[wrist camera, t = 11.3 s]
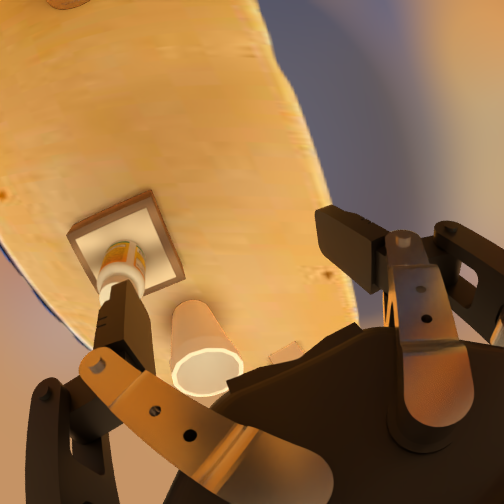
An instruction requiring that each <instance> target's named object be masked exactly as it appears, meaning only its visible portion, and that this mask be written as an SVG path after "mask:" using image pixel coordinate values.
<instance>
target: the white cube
mask: <svg viewBox="0 0 504 504" xmlns="http://www.w3.org/2000/svg"><path fill="white" fill-rule="evenodd" d="M303 355H304V354H303V352H302V351H301V349H300V348H299V346H298V345H297V343H296V342H295V341H294V342H293V343H291V344H289V345H287V346H286V347H284V348H282V349H281V350H279V351H277V352H275V353H273V354H272V355H270V356H269V357H270V359H271V361H272V363H273V364H278V363H282V362H287V361H291V360H295V359H298V358H300V357H301V356H303Z"/></svg>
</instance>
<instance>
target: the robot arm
mask: <svg viewBox="0 0 504 504" xmlns="http://www.w3.org/2000/svg"><path fill="white" fill-rule="evenodd" d="M46 1H47V2H48V3H49V4H50V5H51V6H52V7H54V8H56V9H70V8H74V7H77V6H80V5H82V4H84V3H86V2H88V1H89V0H46ZM315 221H316V229H317V236H318V244H319V247H320V250H321V252H322V253H323V255H324V256H325V257H326V258H328V259H329V260H330V261H331V262H332V263H334V264H335V265H336V266H337V267H338V268H340V269H341V270H342V271H343V272H344V273H346V274H347V275H348V276H349V277H350V278H352V279H353V280H354V281H355V282H356V283H357V284H359V285H360V286H361V287H362V288H363V289H364V290H366V291H367V292H368V293H369V294H373V293H375V292H377V291H379V290H380V289H382V290H383V314H384V315H383V316H384V327H373V328H368V329H363V330H362V329H361V328H360V327H359V326H358V325H357V324H356V323H355V322H354V323H352V324H350V325H348V326H346V327H344V328H342V329H341V330H339V331H337V332H335V333H333V334H331V335H329V336H327V337H325V338H324V339H323V340H322V341H320V342H319V343H318V344H317V345H315V346H314V347H313V348H312V349H310V350H309V351H308V352H306V353H305V354H304V355H303V356H301V357H300V358H298V359H295V360H291V361H287V362H282V363H278V364H273V365H269V366H264V367H259V368H257V369H254V370H252V371H249V372H247V373H244V374H242V375H239V376H237V377H234V378H232V379H229V380H226V383H227V386H228V388H229V391H228V392H227V393H225V394H224V395H223V396H221V397H220V398H219V399H218V400H216V402H215V403H213V405H211V407H210V408H207V407H205V406H203V405H202V404H200V403H198V402H197V401H195V400H193V399H191V398H190V397H188V396H186V395H185V394H183V393H182V392H180V391H178V390H177V389H175V388H173V387H172V386H170V385H169V384H167V383H166V382H164V381H163V380H161V379H159V378H158V377H156V371H155V362H154V353H153V344H152V333H151V322H150V318H149V315H148V313H147V311H146V309H145V307H144V305H143V303H142V301H141V300H140V298H139V296H138V294H137V292H136V290H135V288H134V286H133V284H132V283H131V281H130V280H129V279H127V280H125V281H122V282H120V283H117V284H115V285H112V286H111V292H110V298H109V300H107V301H105V302H104V303H103V305H102V307H101V308H100V310H99V313H98V319H97V320H98V321H97V326H96V327H97V329H96V332H95V339H94V347H93V350H92V351H91V352H89V353H88V354H87V355H86V356H85V357H84V358H83V360H82V361H81V363H80V366H79V376H77V377H76V378H74V379H72V380H71V381H69V382H68V383H66V384H64V385H62V383H61V382H60V381H59V380H58V379H56V378H53V377H51V378H47V379H45V380H43V381H42V382H40V383H39V384H38V386H37V387H36V388H35V390H34V392H33V394H32V398H31V405H30V413H29V421H28V431H27V442H26V463H25V492H26V504H120V503H119V497H118V492H117V488H116V482H115V476H114V470H113V464H112V457H111V450H110V442H109V433H108V432H110V431H111V430H113V429H115V428H116V427H118V426H119V425H121V424H123V423H124V424H125V425H126V426H128V428H130V429H131V430H132V431H133V432H134V433H135V434H136V435H137V436H138V437H140V438H141V439H142V440H143V441H144V442H145V443H147V444H148V445H149V446H150V447H151V448H152V449H154V450H155V451H156V452H157V453H159V454H160V455H161V456H162V457H164V458H165V459H166V460H168V461H169V462H170V463H171V464H173V465H174V466H175V467H177V468H178V469H179V470H178V472H177V474H176V477H175V479H174V481H173V483H172V485H171V487H170V490H169V492H168V494H167V496H166V498H165V500H164V502H163V504H504V249H502V248H501V247H499V246H497V245H496V244H494V243H492V242H491V241H489V240H487V239H486V238H484V237H482V236H481V235H479V234H477V233H475V232H474V231H472V230H470V229H468V228H467V227H464V226H463V225H461V224H459V223H457V222H453V221H441V222H438V223H436V225H435V226H434V235H433V236H429V237H424V238H421V237H420V236H419V235H418V234H417V233H415V232H412V231H409V230H395V231H392V232H389V231H387V230H386V229H384V228H382V227H380V226H378V225H376V224H375V223H373V222H372V223H371V221H369V220H367V219H365V218H364V217H362V216H360V215H358V214H355V213H351V212H347V211H344V210H342V209H340V208H338V207H336V206H334V205H329V206H326V207H323V208H320V209H318V210H316V211H315ZM462 262H463V263H465V264H466V265H467V266H469V267H470V268H472V269H473V270H474V271H475V272H476V273H477V276H478V285H477V288H476V287H475V286H473V285H472V284H471V283H469V282H468V281H467V280H465V279H464V278H463V277H461V276H460V275H459V273H460V268H461V263H462ZM451 309H452V310H453V311H454V312H455V313H456V314H457V315H458V316H460V317H461V318H462V319H463V320H464V321H465V322H466V323H468V324H469V325H470V326H471V327H472V328H473V329H474V330H475V331H477V333H479V334H480V335H481V336H482V337H483V338H484V339H485V340H486V341H487V342H488V343H489V344H490V345H488V344H482V343H476V342H470V341H464V340H459V338H458V334H457V329H456V326H455V321H454V317H453V313H452V310H451ZM70 437H71V438H72V452H73V455H72V454H71V451H70Z"/></svg>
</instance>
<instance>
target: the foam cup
mask: <svg viewBox="0 0 504 504" xmlns="http://www.w3.org/2000/svg"><path fill="white" fill-rule="evenodd" d="M169 362H170V369H171V375H172V379H173V383H174V386H176V387H177V388H178V389H179V390H180V391H182V393H185V394H188V395H192V396H195V397H200V396H201V397H202V396H213V395H216V394H219V393H222V392H225V391H227V390H228V389H229V388H228V386H227V383H226V380H229V379H232V378H234V377H237V376H239V375H242V374H243V360H242V358H241V356H240V354H239V351H238V350H237V348H236V347H235V346H234V344H233V343H232V342H231V341H230V340H229V338H228V337H227V335H226V334H225V332H224V331H223V329H222V328H221V326H220V324H219V323H218V321H217V320H216V318H215V316H214V315H213V313H212V312H211V310H210V309H209V307H208V306H207V304H205V303H203V302H201V301H199V300H188V301H185V302H182V303H181V304H180V305H179V306H177V307H176V308H175V310H174V313H173V317H172V338H171V359H170V361H169Z"/></svg>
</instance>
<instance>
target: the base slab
mask: <svg viewBox="0 0 504 504" xmlns="http://www.w3.org/2000/svg"><path fill="white" fill-rule="evenodd" d="M66 236H67V238H68V240H69V242H70V244H71V246H72V248H73V250H74V252H75V254H76V256H77V257H78V259H79V261H80V263H81V265H82V267H83V269H84V270H85V272H86V274H87V276H88V277H89V279H90V281H91V283H92V284H93V286H94V288H95V289H96V291H97V293H98V294H99V292H98V289H97V278H98V274H99V271H100V268H101V265H102V262H103V259H104V256H105V254H106V251H107V249H108V248H109V247H110V246H111V245H112V244H113V243H115V242H118V241H122V240H128V241H132V242H134V243H136V244H138V245H139V246H140V247H141V248H142V250H143V251H144V254H145V257H146V273H145V291H144V294H143V296H145V295H148V294H150V293H153V292H155V291H158V290H160V289H163V288H165V287H168V286H170V285H173V284H175V283H178V282H180V281H182V280H185V279H186V278H185V274H184V270H183V266H182V264H181V262H180V259H179V257H178V255H177V252H176V250H175V248H174V245H173V243H172V240H171V238H170V236H169V233H168V231H167V228H166V226H165V223H164V221H163V219H162V216H161V214H160V211H159V208H158V206H157V203H156V201H155V198H154V196H153V193H152V190H150V191H147V192H145V193H142V194H140V195H138V196H135V197H133V198H131V199H128V200H126V201H124V202H121V203H119V204H117V205H115V206H112V207H110V208H108V209H106V210H104V211H101V212H99V213H97V214H95V215H93V216H91V217H89V218H87V219H85V220H83V221H80V222H78V223H76V224H74V225H73V226H72V228H71V229H70V231H69V232H68V233H67V235H66ZM143 296H142V297H143Z"/></svg>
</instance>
